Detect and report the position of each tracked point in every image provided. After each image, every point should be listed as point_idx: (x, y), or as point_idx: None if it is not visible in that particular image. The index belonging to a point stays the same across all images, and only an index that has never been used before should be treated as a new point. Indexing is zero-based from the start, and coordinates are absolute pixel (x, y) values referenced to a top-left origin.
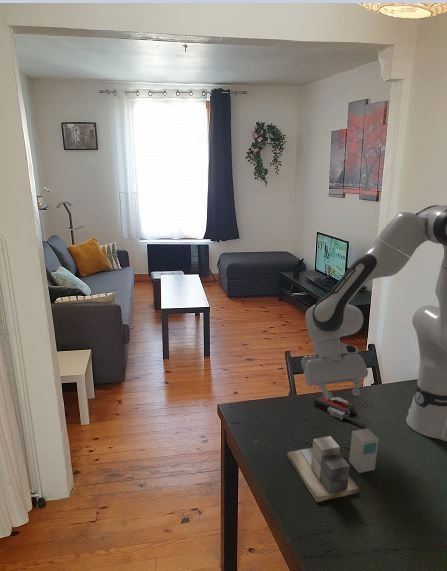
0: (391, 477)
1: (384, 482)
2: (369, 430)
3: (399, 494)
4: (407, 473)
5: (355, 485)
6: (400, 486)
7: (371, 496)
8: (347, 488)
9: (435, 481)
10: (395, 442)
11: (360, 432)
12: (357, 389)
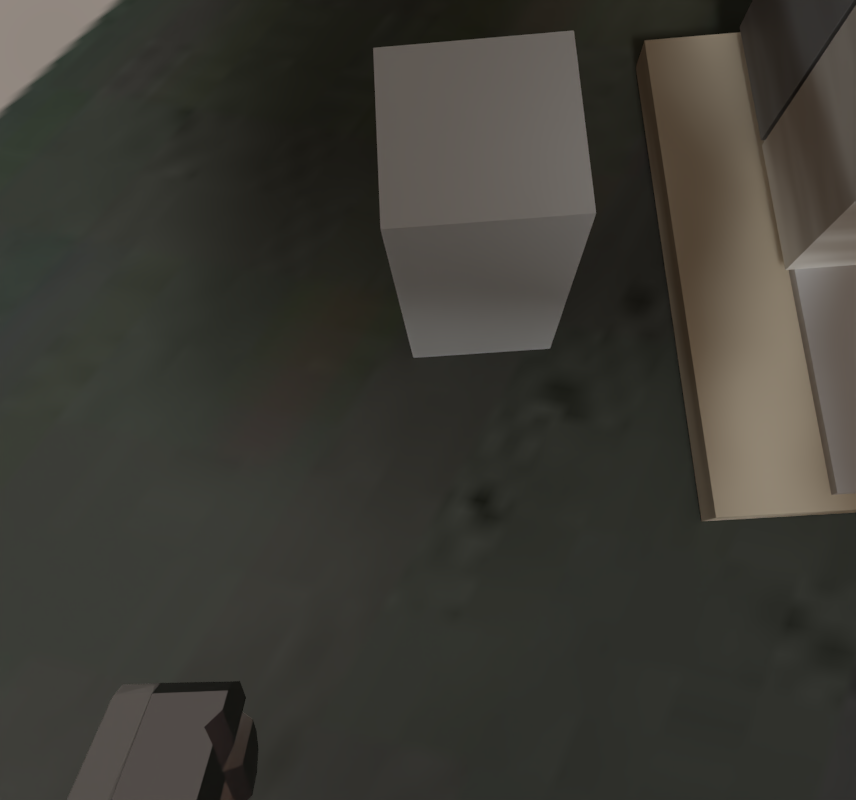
0: (337, 150)
1: None
2: (383, 191)
3: (382, 21)
4: (205, 164)
5: (655, 64)
6: (332, 74)
7: None
8: (725, 48)
9: (85, 76)
10: (39, 487)
11: (511, 173)
12: (133, 763)
